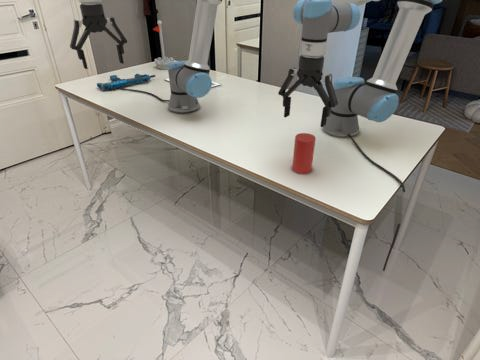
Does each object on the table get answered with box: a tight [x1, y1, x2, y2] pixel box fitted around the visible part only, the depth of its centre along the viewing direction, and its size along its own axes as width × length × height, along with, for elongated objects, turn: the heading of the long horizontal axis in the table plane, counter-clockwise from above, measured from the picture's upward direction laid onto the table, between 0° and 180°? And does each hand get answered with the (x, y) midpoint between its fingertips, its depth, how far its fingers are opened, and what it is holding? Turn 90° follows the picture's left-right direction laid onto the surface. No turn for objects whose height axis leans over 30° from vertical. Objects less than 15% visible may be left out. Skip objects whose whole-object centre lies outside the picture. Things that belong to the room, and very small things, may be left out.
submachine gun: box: [96, 73, 156, 91], centre depth 208 cm, size 34×4×25 cm
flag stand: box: [152, 19, 175, 70], centre depth 230 cm, size 13×13×30 cm
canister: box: [291, 132, 316, 175], centre depth 119 cm, size 7×7×13 cm
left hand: (104, 65), depth 130 cm, fingers open, 13 cm apart
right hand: (304, 120), depth 114 cm, fingers open, 13 cm apart
